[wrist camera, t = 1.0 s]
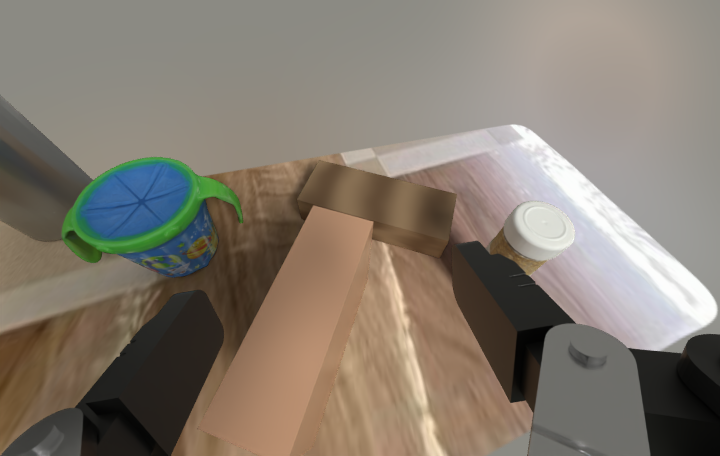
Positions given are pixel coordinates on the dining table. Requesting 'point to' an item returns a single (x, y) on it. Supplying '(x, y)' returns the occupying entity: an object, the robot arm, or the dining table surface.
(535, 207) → the sprinkles bottle
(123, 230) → the snack cup
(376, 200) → the brown wooden bar
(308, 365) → the block
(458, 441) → the dining table surface
